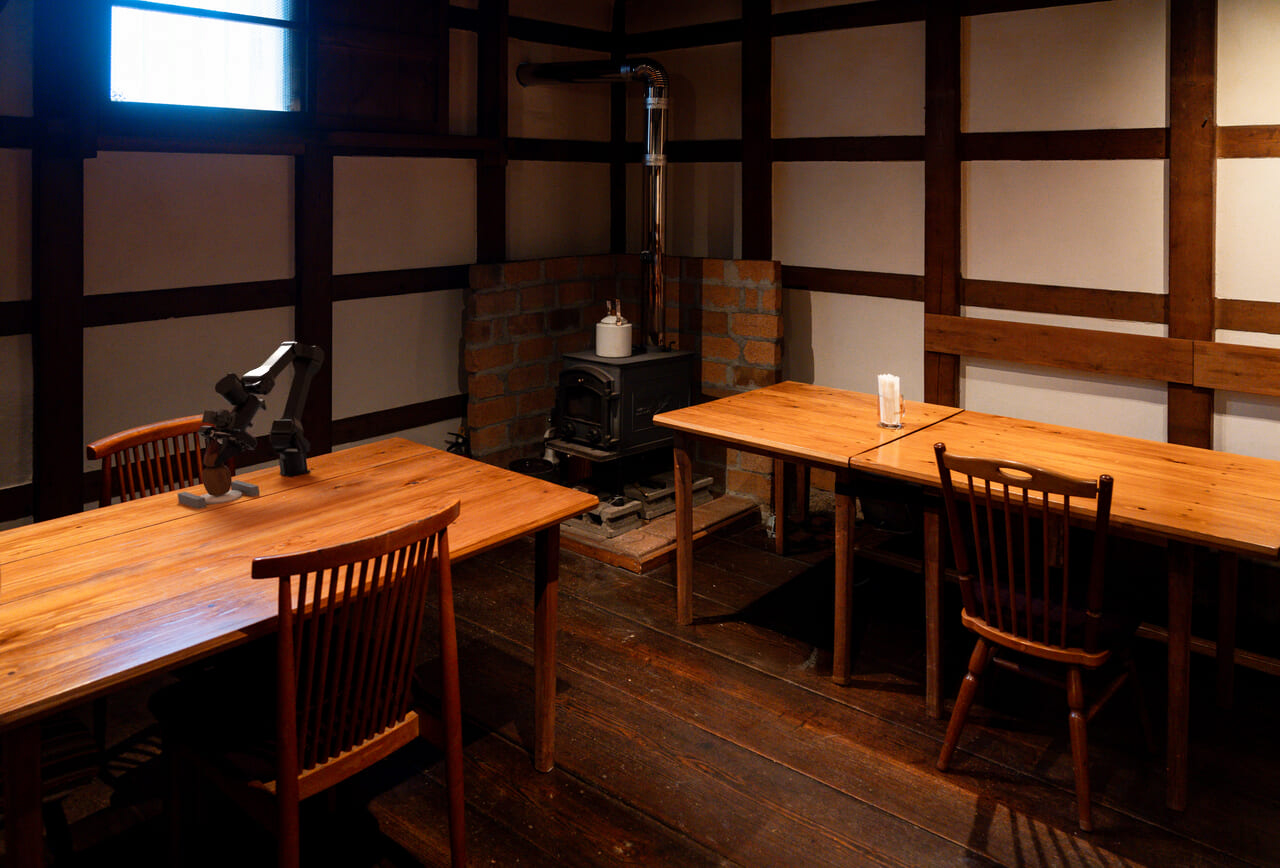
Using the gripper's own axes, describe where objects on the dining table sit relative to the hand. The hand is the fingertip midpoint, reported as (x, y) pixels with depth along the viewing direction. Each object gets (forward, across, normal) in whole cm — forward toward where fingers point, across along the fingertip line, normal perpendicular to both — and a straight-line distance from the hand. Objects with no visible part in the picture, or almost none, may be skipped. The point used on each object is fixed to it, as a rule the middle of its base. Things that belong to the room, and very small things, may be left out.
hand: (209, 464), depth 253 cm
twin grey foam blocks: (+6, 0, +7) cm, 9 cm away
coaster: (+6, 0, +7) cm, 9 cm away
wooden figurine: (+5, 0, +7) cm, 9 cm away
